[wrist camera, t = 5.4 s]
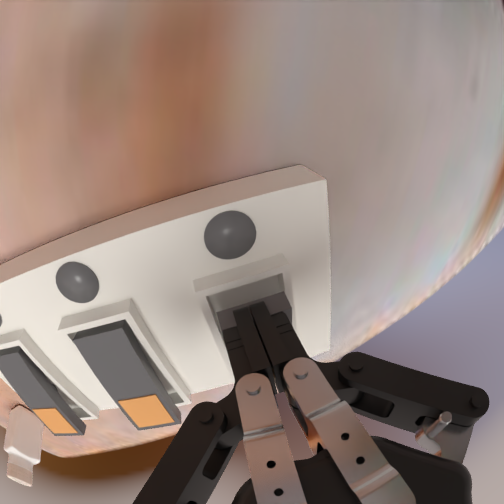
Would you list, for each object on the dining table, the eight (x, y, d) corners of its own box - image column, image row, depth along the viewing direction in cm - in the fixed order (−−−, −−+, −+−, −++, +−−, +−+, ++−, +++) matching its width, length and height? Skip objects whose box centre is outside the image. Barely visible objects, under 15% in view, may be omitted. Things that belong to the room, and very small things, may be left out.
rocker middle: (126, 313, 14) (121, 328, 12) (180, 408, 17) (181, 424, 15) (80, 326, 13) (72, 341, 12) (139, 415, 16) (138, 431, 15)
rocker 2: (280, 284, 13) (292, 309, 12) (285, 355, 19) (292, 373, 18) (214, 305, 13) (221, 331, 12) (241, 369, 18) (247, 388, 17)
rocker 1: (26, 340, 13) (17, 353, 11) (87, 421, 16) (83, 436, 14) (-1, 346, 12) (-10, 358, 11) (58, 423, 15) (54, 436, 14)
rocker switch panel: (300, 164, 15) (336, 185, 12) (314, 323, 22) (335, 359, 19) (-39, 284, 12) (-61, 318, 9) (46, 389, 19) (40, 423, 16)
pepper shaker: (35, 424, 22) (29, 487, 14) (9, 409, 20) (-1, 474, 12) (46, 418, 22) (40, 488, 14) (19, 402, 19) (8, 473, 11)
